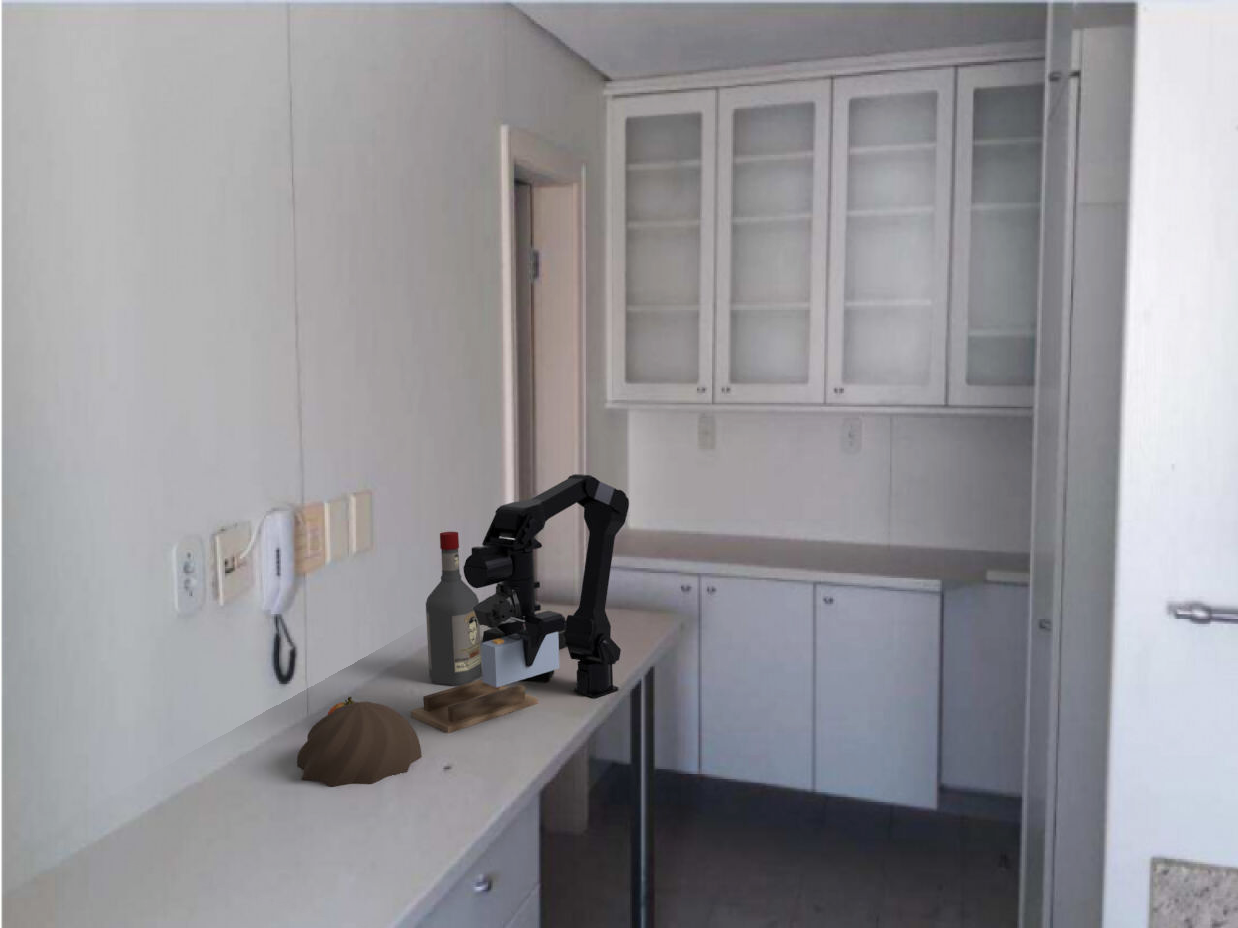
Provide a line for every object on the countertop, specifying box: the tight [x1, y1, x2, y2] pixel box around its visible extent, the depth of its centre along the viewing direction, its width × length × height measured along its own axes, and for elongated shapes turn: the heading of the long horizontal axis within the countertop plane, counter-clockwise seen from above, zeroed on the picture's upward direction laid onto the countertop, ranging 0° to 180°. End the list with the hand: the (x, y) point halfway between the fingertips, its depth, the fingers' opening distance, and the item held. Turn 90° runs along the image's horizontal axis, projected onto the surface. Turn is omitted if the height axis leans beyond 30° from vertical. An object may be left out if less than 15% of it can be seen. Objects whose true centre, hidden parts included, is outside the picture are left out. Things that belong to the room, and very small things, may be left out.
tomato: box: [327, 696, 355, 715], centre depth 178 cm, size 8×7×7 cm
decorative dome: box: [296, 701, 422, 788], centre depth 162 cm, size 19×20×10 cm
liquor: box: [425, 531, 482, 687], centre depth 202 cm, size 9×9×30 cm
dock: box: [410, 678, 539, 734], centre depth 185 cm, size 20×12×4 cm, turn 134°
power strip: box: [480, 632, 560, 687], centre depth 176 cm, size 14×4×7 cm, turn 134°
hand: (521, 663), depth 177 cm, fingers closed on power strip, 4 cm apart
